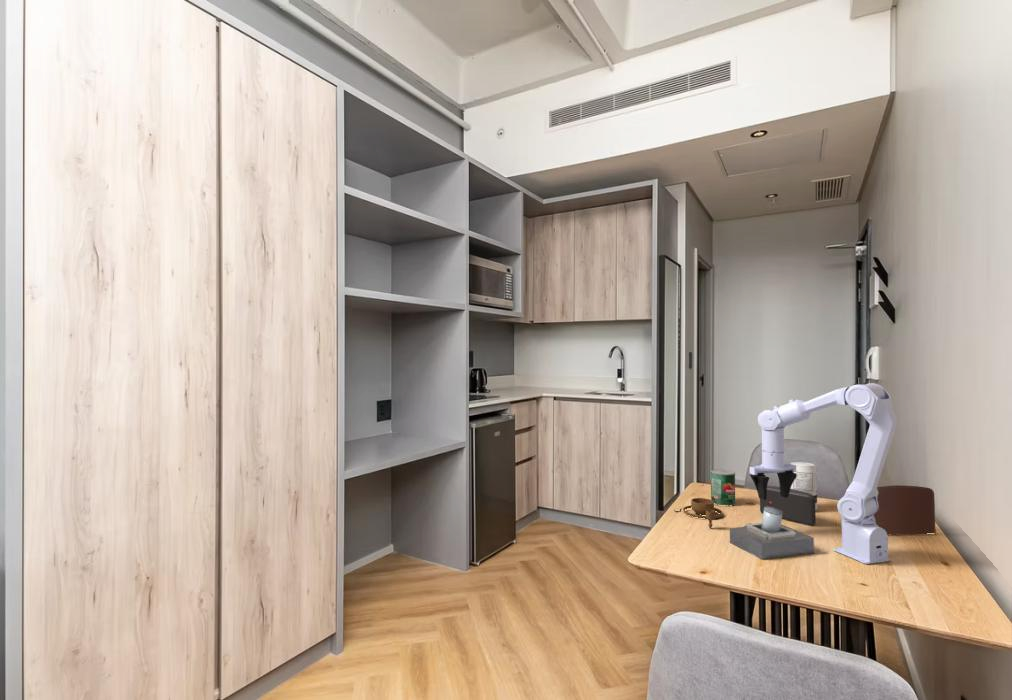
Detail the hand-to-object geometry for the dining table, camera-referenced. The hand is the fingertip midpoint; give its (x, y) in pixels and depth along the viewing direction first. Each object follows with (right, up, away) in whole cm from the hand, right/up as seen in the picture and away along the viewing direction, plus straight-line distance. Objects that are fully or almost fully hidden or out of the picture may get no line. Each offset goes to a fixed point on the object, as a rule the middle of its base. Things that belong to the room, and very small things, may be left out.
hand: (773, 497), depth 149 cm
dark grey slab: (+10, -10, +11) cm, 18 cm away
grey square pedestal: (-8, -10, -10) cm, 16 cm away
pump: (-7, -6, -12) cm, 15 cm away
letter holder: (+35, -10, +2) cm, 36 cm away
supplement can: (+21, -10, +22) cm, 32 cm away
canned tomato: (-2, -11, +29) cm, 31 cm away
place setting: (-17, -11, +14) cm, 24 cm away
